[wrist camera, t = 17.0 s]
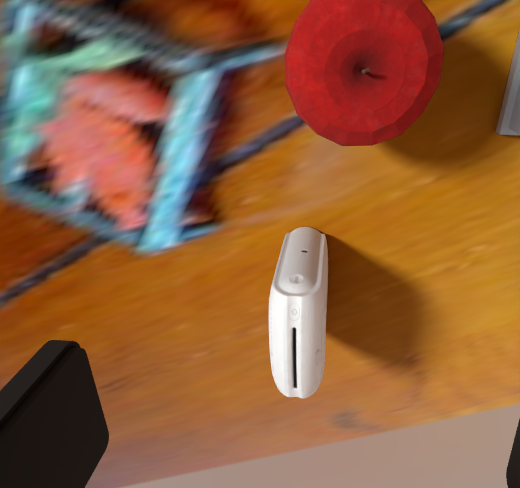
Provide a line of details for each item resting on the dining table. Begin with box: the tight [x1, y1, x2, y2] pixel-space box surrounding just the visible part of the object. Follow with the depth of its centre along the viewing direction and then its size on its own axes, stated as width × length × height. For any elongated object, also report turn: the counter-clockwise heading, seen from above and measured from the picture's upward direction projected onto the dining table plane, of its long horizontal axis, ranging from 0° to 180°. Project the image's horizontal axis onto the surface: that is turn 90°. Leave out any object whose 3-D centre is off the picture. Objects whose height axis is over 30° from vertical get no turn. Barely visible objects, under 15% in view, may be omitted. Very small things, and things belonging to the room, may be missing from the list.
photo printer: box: [269, 227, 328, 399], centre depth 37 cm, size 10×4×12 cm, turn 3°
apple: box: [285, 0, 444, 146], centre depth 29 cm, size 10×10×11 cm
